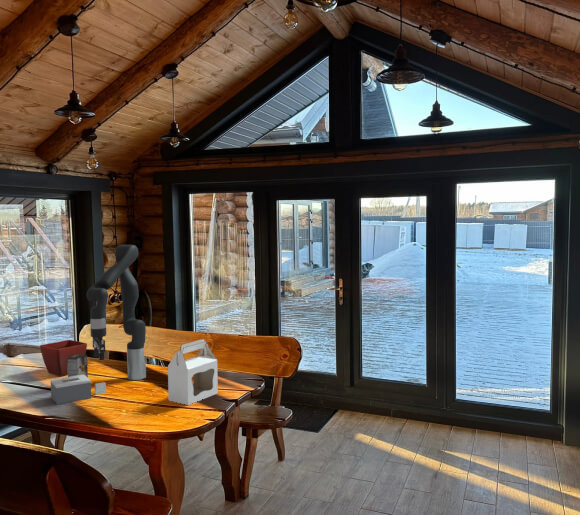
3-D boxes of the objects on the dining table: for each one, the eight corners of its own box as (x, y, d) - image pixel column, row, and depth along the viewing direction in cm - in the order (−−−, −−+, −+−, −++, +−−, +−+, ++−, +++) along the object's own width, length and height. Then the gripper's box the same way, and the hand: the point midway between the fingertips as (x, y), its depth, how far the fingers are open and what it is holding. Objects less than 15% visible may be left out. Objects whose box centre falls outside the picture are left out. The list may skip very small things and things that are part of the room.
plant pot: (70, 366, 325) (69, 339, 323) (88, 371, 313) (87, 343, 312) (40, 373, 309) (39, 345, 308) (58, 379, 298) (57, 349, 297)
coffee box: (77, 382, 291) (77, 353, 290) (88, 383, 290) (87, 354, 289) (67, 387, 282) (66, 358, 281) (78, 388, 281) (77, 358, 280)
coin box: (84, 391, 276) (83, 374, 275) (91, 398, 265) (90, 380, 265) (51, 397, 267) (50, 379, 266) (57, 404, 256) (56, 386, 255)
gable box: (187, 405, 254) (186, 347, 252) (167, 400, 261) (166, 344, 259) (218, 393, 272) (217, 339, 270) (199, 389, 279) (198, 336, 278)
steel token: (104, 391, 276) (104, 382, 275) (106, 392, 274) (105, 383, 274) (94, 393, 273) (94, 383, 272) (96, 394, 271) (95, 384, 271)
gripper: (109, 328, 267) (110, 360, 269) (101, 323, 279) (102, 354, 280) (94, 330, 263) (95, 362, 264) (86, 325, 275) (87, 356, 276)
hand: (99, 358), depth 272 cm, fingers open, 8 cm apart
